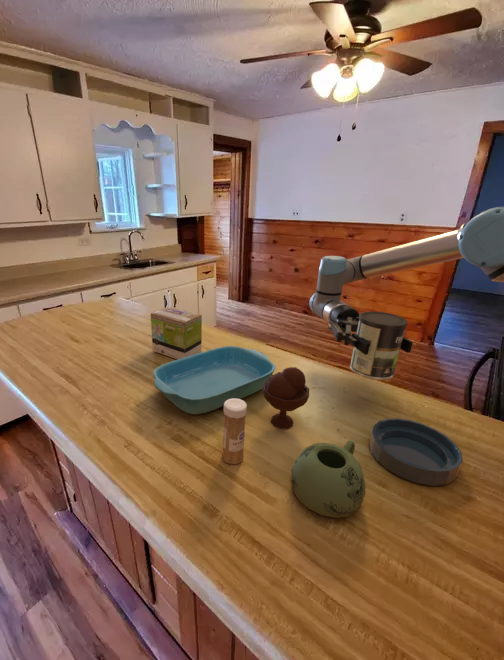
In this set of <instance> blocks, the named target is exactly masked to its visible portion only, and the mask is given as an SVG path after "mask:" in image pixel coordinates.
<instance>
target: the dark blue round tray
mask: <svg viewBox="0 0 504 660" xmlns="http://www.w3.org/2000/svg"><path fill="white" fill-rule="evenodd" d="M368 447H369V450H370V453H371V455H372V456H373V457H374V458H375V460H376V462H378V463H379V464H380V465H381V466H382V467H384V468H385V469H386V470H388V471H389V472H391V473H392V474H394V475H396V476H398V477H399V478H402V479H405V480H407V481H410V482H413V483H416V484H420V485H425V486H446V485H448V484H450V483H452V482H454V481H455V480H456V478H457V476H458V475H459V472H460V469H461V467H462V465H463V462H464V458H463V453H462V452H463V451H462V450H461V449H460V448H459V446H458V445H457V444H456V442H454V441H453V440H452V439H451V438H450V437H448V436H447V435H446V434H444V433H443V432H440V431H439V430H437V429H436V428H435V427H432V426H429V425H426V424H425V423H423V422H422V423H421V422H418V421H416V420H415V421H414V420H411V419H407V418H406V419H405V418H399V417H395V418H385V419H382V420H379V421H377V422H376V423H375V424H374V425H373V426H372V430H371V434H370V439H369V443H368Z"/></svg>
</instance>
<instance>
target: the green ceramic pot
mask: <svg viewBox="0 0 504 660" xmlns="http://www.w3.org/2000/svg"><path fill="white" fill-rule="evenodd" d="M355 448H356V443H355V440H352V439H349V440H347V442H346V443H345V444H344V445H343V447H342V446H339V445H337V444H334V443H329V442H317V443H312V444H311V445H309V446H307V447H305V448H304V449H303V450H301V452H300V453H299V455H298V456H297V457H296V459H295V461H294V463H293V464H292V468H291V488H292V491H293V492H294V495H295V496H296V498H297V499H298V500H299V501H300V502H301V503H302V505H304V506H305V507H306V508H307V509H308V510H311V511H313V512H314V513H317V514H319V515H321V516H324V517H330V518H334V519H338V518H345V517H350V516H351V515H353V514H354V513H356V512H357V511H358V510H359V509H360V507H361V506H362V504H363V502H364V499H365V495H366V480H365V476H364V473H363V469H362V466H361V463H360V462H359V461H358V460H357V459H356V457H355V456H354V453H355Z"/></svg>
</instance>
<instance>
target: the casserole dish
mask: <svg viewBox="0 0 504 660" xmlns="http://www.w3.org/2000/svg"><path fill="white" fill-rule="evenodd" d="M275 370H276V364H275V363H273V362H272V361H271V360H270V358H269V356H268V355H266V354H265V353H263V352H260V351H258V350H256V349H251V348H245V347H241V346H237V345H226V346H220V347H216V348H211V349H209V350H208V349H207V350H205V351H201V353H198V354H194V355H191V356H188V357H184V358H181V359H178V360H177V359H175V360H172V361H169V362H165V363H163V364H161V365H159V366H157V367H156V368H155V369H154V370H153V373H152V374H153V378H154V380H153V381H154V382H153V385H154V387H155V388H156V389H157V390H158V391H159V392H161V394H162V395H163V396H164V397H165V398H166V399H167V400H168V401H170V402H171V403H172V404H173V405H174V406H175V407H177V408H178V409H179V410H181V411H183V412H184V413H187V414H190V415H201V414H206V413H209V412H212V411H214V410H217V409H219V408H222V407H224V403H225V401H227V400H228V399H232V398H236V399H241V400H242V399H244V398H247V397H248V396H250V395H251V396H252V395H253V394H254V393H255V394H256V393H257V392H259V391H260V390H262V388H263V384H264V382H265V381H267V380H268V379H269V377H270V376H271V375H274V372H275Z"/></svg>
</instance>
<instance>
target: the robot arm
mask: <svg viewBox="0 0 504 660" xmlns="http://www.w3.org/2000/svg"><path fill="white" fill-rule="evenodd" d="M460 259H464V260H465V261H467V262H468V263H470V264H471V265H473V266H475V267H479V268H480V269H481V271H482V272H483V273H484V274H485V275H486V277H488V278H489V279H490V281H492V282H497V283H504V206H496V207H492V208H489V209H486V210H483V211H481V212H480V213H478V214H476V215H475V216H473V217H472V218H471V219H470V220H469V221H468V222H466V223H463V224H462V225H461V226H460V227H459V228H458V229H455V230H451V231H448V232H444V233H441V234H437V235H433V236H429V237H425V238H422V239H418V240H414V241H411V242H408V243H404V244H399V245H396V246H393V247H389V248H385V249H382V250H377V251H374V252H370V253H367V254H364V255H359V256H355V257H351V258H346V257H344V256H339V255H325V256H323V257H322V258H321V259H320V264H319V267H318V276H317V283H316V290H315V292H314V293H313V294H312V295H311V297H310V299H309V302H308V303H309V308H310V310H311V311H312V312H313V313H314V314H315V315H316V316H317V317H319V318H321V319H322V320H323V321H324V322H326V323H327V324H328V326H327V330H329V331H331V333H332V336H333V337H334V339H335V341H336V342H338V343H342V341H343V345H344V346H350V345H351V346H353V348H354V347H356V348H357V349H358V350H359V351H361V352H362V353H363V354H365V355H367V354H368V351H369V346H370V343H368V342H367V341H365V340H364V339H362V338H361V337H359V336H358V335H357V329H358V323H359V315H360V312H359V311H358V310H357V309H355V308H354V307H352V306H351V305H349V304H347V303H346V302H343V301H342V300H341V297H342V293H343V287H344V285H347V284H350V283H354V282H358V281H362V280H367V279H371V278H376V277H381V276H385V275H391V274H394V273H399V272H404V271H408V270H414V269H418V268H424V267H428V266H432V265H437V264H442V263H447V262H452V261H457V260H460ZM413 343H414V341H412V340H410V339H408V337H406V336H403V340H402V344H401V348H400V350H402V351H404V352H405V353H408V354H410V353H411V350H412V347H413Z"/></svg>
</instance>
